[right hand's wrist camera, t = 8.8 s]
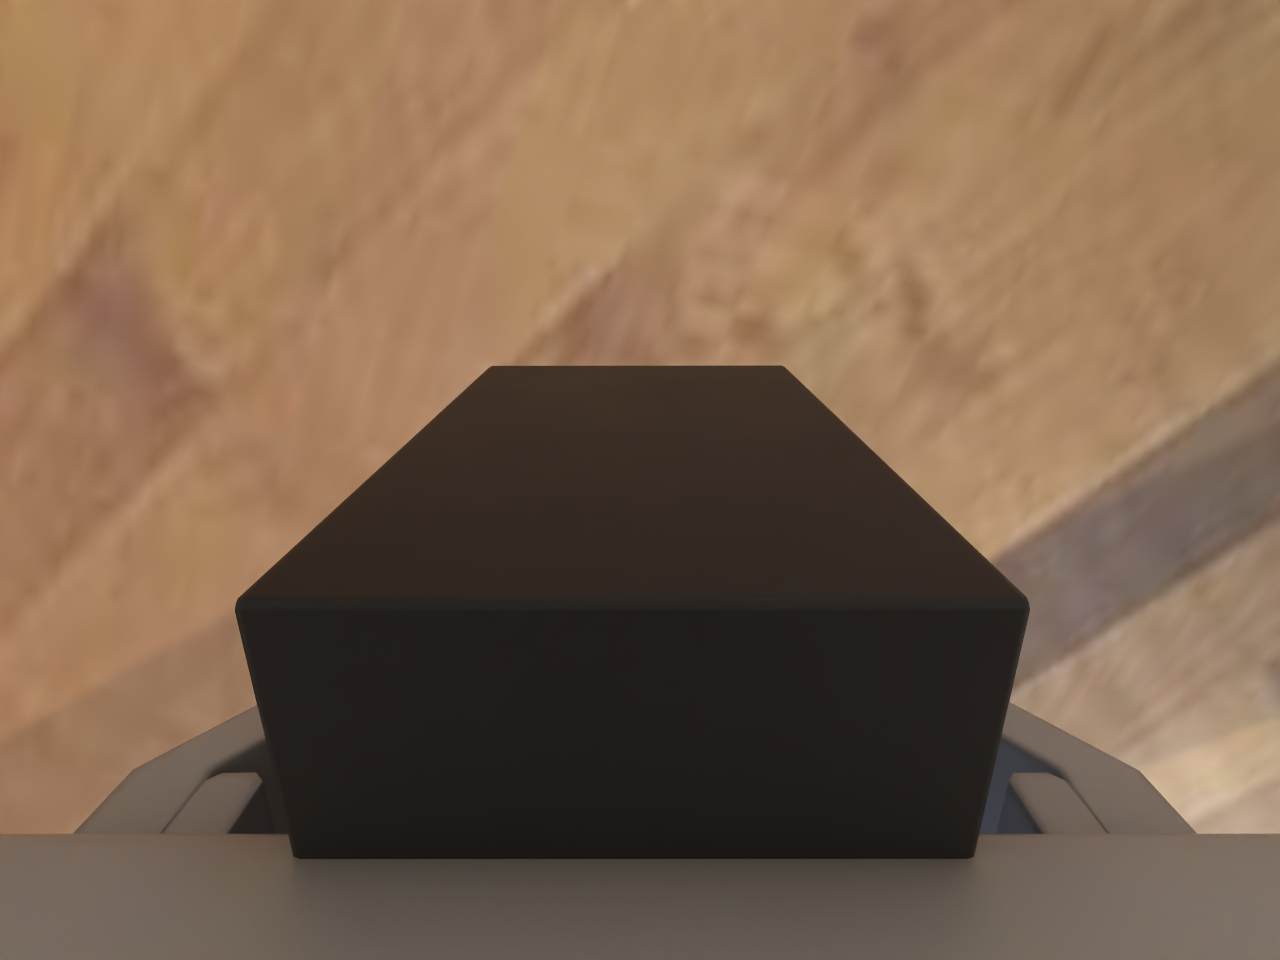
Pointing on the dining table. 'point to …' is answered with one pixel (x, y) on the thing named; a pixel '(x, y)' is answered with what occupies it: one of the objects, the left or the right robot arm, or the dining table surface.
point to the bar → (633, 636)
